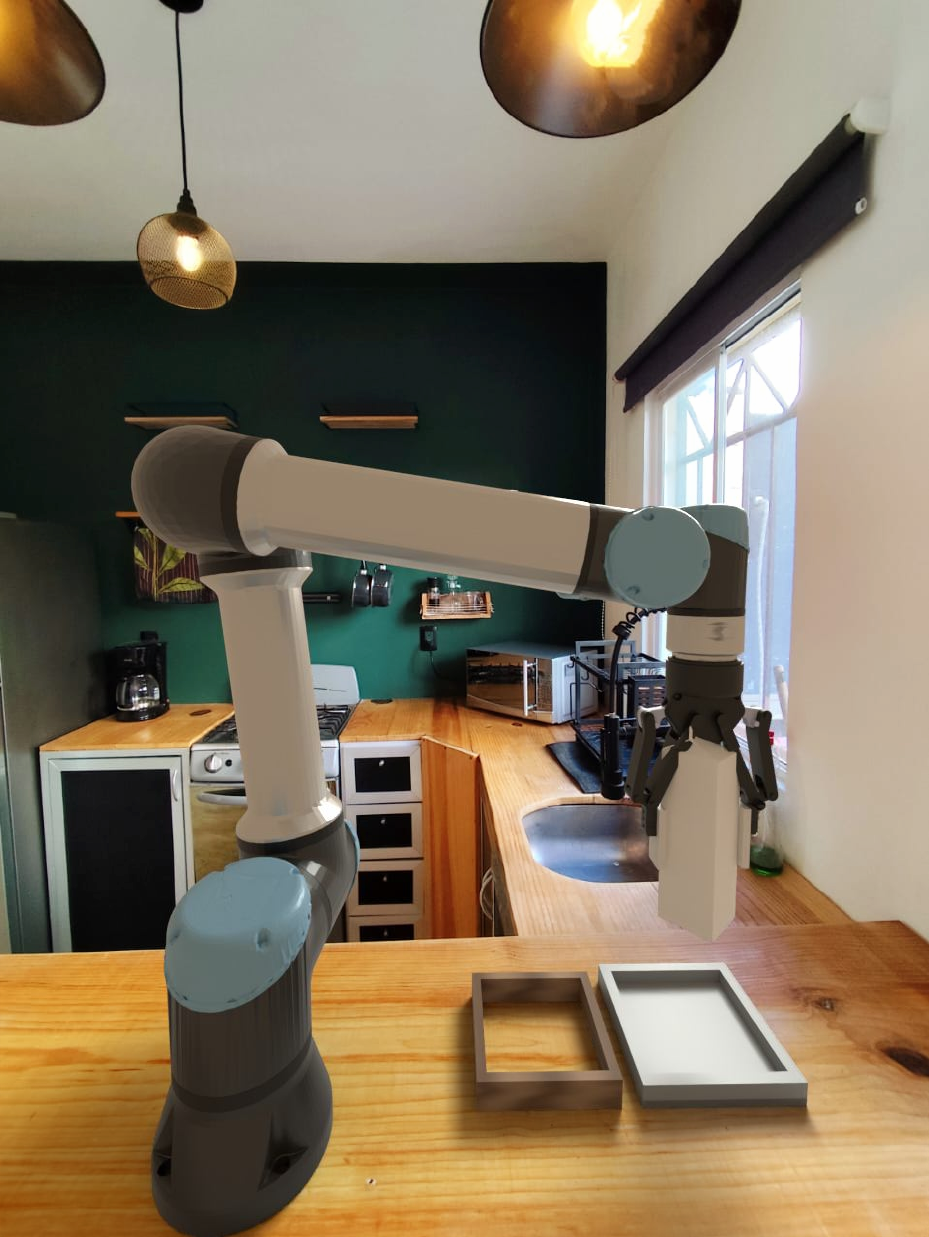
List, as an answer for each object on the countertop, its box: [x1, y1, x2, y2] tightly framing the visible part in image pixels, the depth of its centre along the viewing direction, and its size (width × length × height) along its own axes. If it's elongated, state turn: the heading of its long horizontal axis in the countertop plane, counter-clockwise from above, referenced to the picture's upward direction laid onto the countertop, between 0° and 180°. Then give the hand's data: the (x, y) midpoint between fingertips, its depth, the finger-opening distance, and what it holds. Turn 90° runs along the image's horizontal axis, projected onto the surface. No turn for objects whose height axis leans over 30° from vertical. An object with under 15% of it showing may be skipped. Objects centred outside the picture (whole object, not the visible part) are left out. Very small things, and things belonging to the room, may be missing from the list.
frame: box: [471, 971, 624, 1112], centre depth 58 cm, size 14×14×3 cm
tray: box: [597, 962, 809, 1109], centre depth 59 cm, size 16×16×2 cm
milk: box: [657, 726, 742, 943], centre depth 57 cm, size 6×6×22 cm
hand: (697, 862), depth 58 cm, fingers closed on milk, 8 cm apart
